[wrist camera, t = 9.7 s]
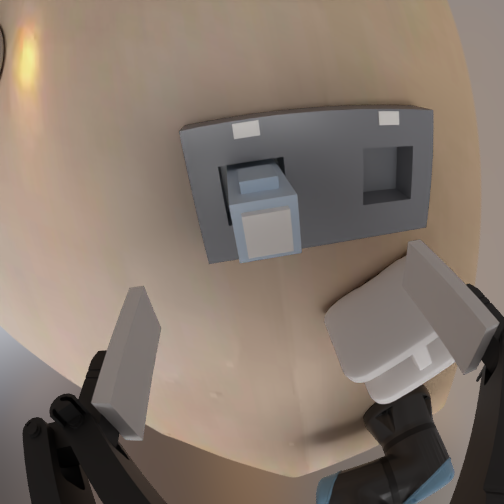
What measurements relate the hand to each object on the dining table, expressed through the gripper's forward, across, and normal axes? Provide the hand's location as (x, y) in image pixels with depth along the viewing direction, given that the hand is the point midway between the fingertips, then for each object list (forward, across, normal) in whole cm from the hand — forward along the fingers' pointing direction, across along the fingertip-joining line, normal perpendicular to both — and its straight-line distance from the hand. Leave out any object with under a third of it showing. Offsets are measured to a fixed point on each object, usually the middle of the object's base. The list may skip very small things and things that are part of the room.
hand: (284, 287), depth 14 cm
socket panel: (+16, -6, -1) cm, 17 cm away
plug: (+15, 0, -1) cm, 15 cm away
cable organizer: (+16, -15, +17) cm, 28 cm away
